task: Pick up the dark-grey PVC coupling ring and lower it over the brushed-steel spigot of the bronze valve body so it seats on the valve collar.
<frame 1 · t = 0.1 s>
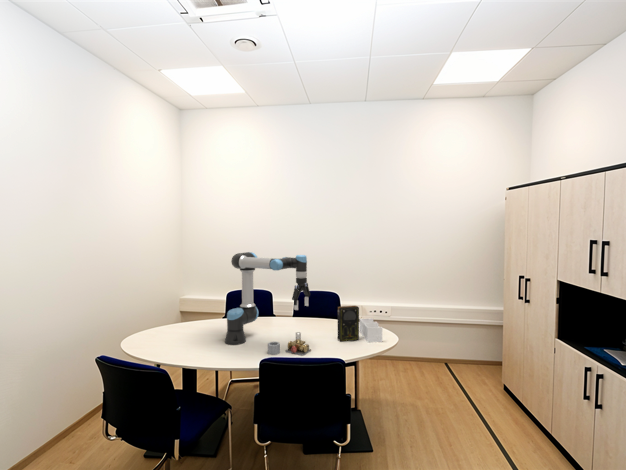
hand: (301, 307, 241), 28 cm above the table, fingers open, 13 cm apart
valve: (298, 351, 235), on the table
voltmeter: (348, 340, 259), on the table
storage container: (370, 337, 266), on the table
coupling: (273, 352, 232), on the table
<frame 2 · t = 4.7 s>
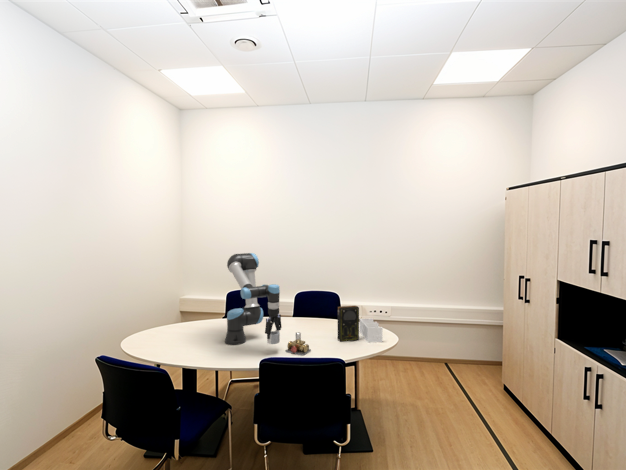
hand: (273, 341, 233), 7 cm above the table, fingers closed on coupling, 8 cm apart
coupling: (273, 341, 233), point 7 cm above the table, touching gripper
everything else where it was.
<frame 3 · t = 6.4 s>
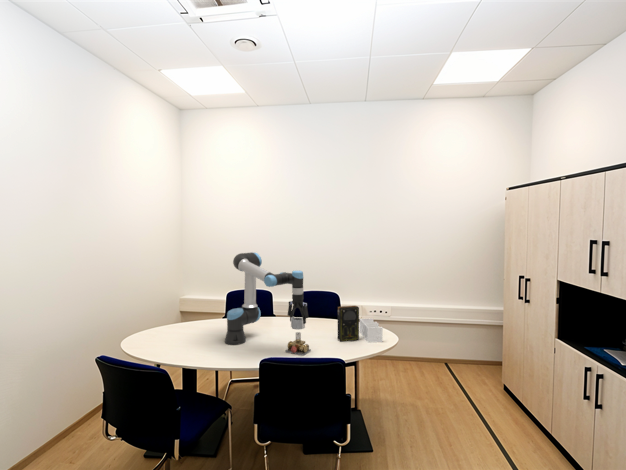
hand: (297, 327, 234), 16 cm above the table, fingers closed on coupling, 8 cm apart
coupling: (297, 327, 234), point 16 cm above the table, touching gripper
everything else where it was.
when the fingers open (8 cm above the table, at t = 8.3 s): coupling drops 1 cm, resting on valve.
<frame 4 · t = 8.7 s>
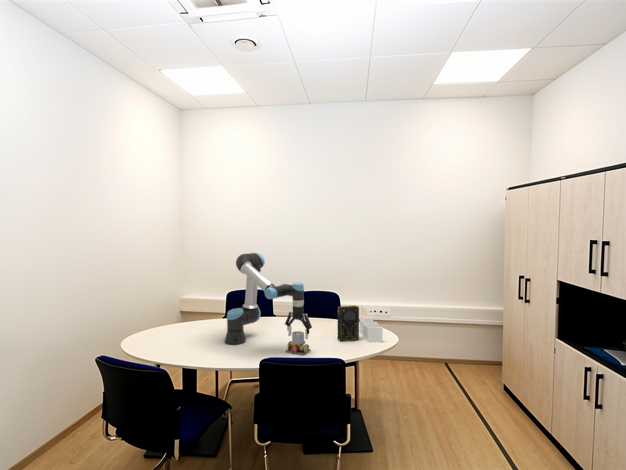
hand: (298, 337, 234), 10 cm above the table, fingers open, 13 cm apart
coupling: (298, 341, 234), point 6 cm above the table, touching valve
everything else where it was.
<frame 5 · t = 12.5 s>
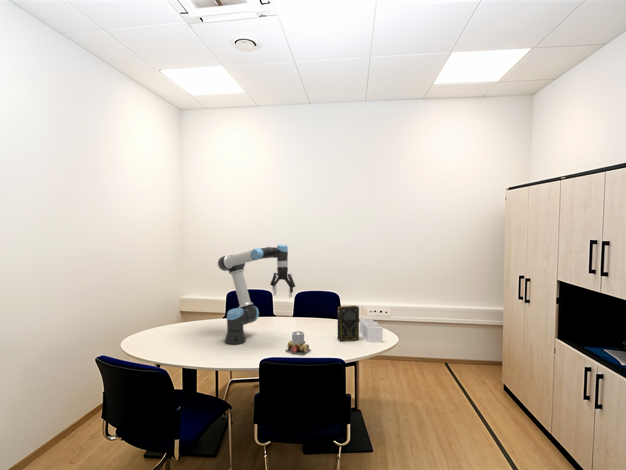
hand: (282, 296, 248), 35 cm above the table, fingers open, 13 cm apart
nothing on the table moved.
at the end: coupling 0.1 cm off-centre on the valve, point 6.5 cm above the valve's base; coupling tilted 0°; the gripper is holding nothing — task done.
